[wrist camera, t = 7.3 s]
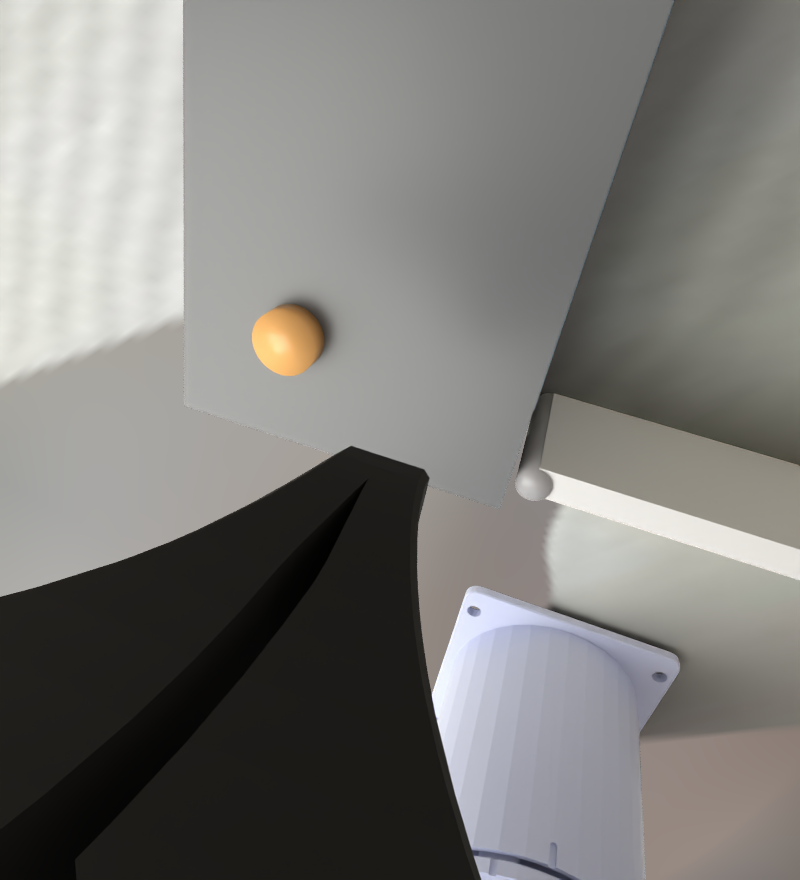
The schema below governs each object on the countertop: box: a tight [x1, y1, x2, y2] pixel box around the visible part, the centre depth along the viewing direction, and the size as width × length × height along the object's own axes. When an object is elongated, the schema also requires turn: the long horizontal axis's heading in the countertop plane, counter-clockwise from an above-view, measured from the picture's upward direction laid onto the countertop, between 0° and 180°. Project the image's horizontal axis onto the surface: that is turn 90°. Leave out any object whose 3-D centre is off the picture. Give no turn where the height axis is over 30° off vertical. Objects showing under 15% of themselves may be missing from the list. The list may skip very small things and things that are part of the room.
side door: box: [515, 393, 800, 580], centre depth 17 cm, size 12×1×5 cm, turn 79°
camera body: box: [183, 0, 675, 509], centre depth 14 cm, size 16×9×6 cm, turn 169°
